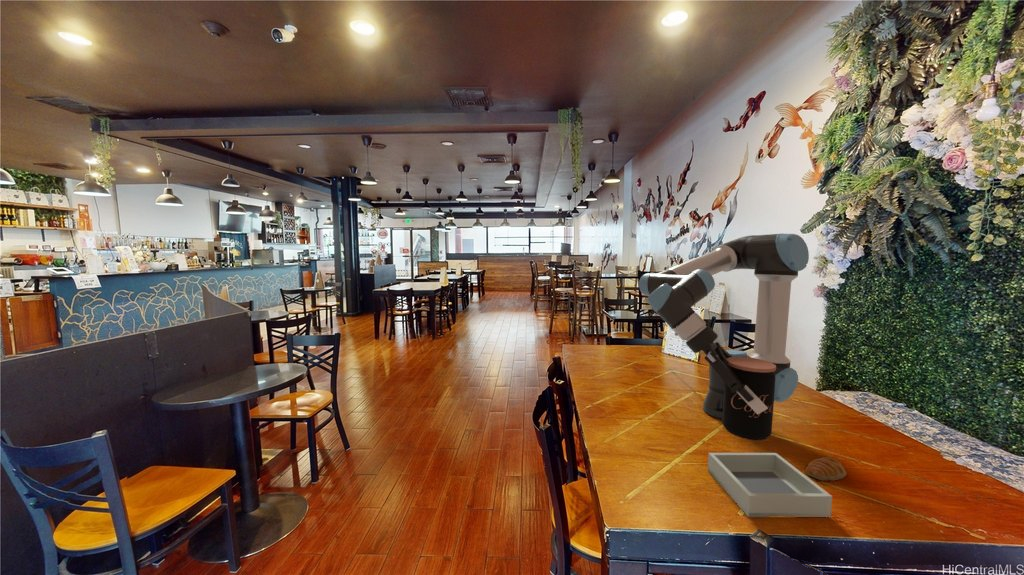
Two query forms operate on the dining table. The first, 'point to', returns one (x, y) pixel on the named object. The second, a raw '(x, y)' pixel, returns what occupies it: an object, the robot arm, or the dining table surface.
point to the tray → (768, 485)
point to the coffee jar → (737, 411)
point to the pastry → (826, 469)
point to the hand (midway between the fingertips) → (762, 403)
